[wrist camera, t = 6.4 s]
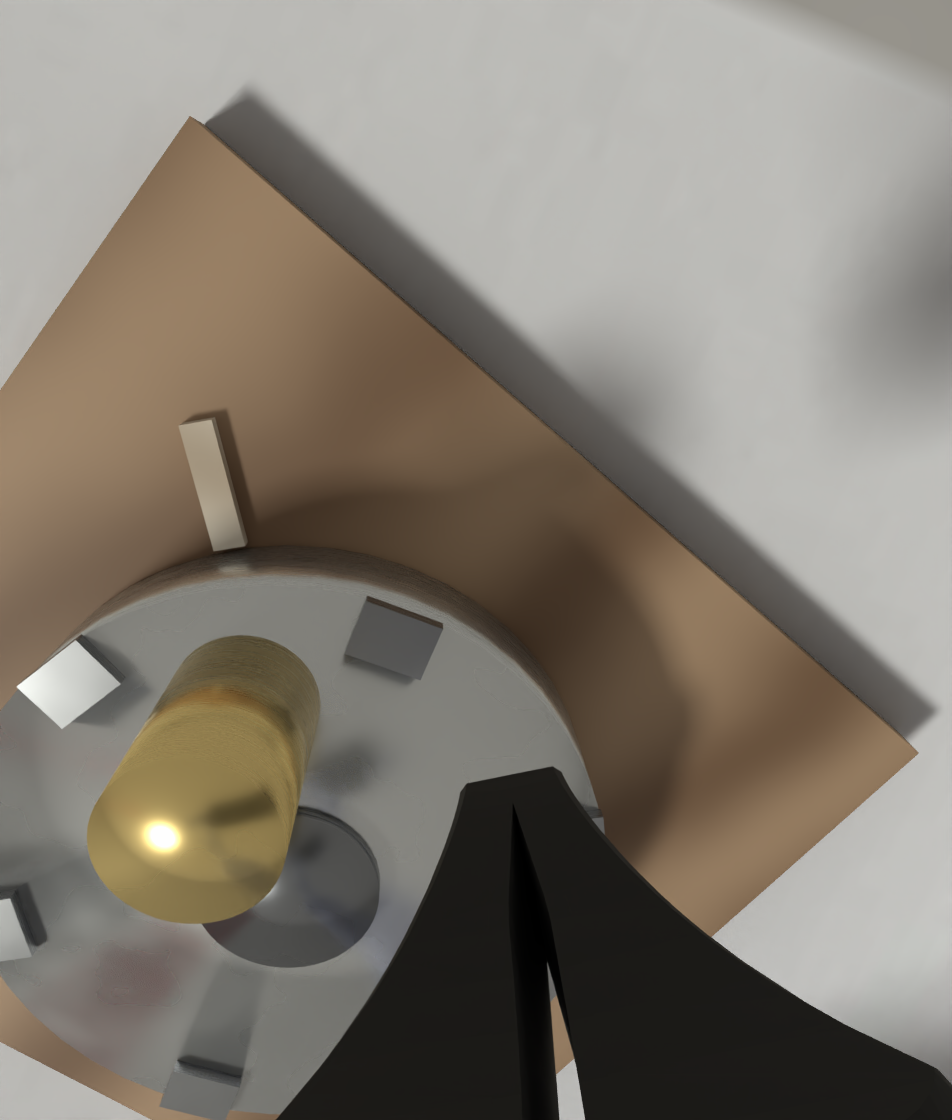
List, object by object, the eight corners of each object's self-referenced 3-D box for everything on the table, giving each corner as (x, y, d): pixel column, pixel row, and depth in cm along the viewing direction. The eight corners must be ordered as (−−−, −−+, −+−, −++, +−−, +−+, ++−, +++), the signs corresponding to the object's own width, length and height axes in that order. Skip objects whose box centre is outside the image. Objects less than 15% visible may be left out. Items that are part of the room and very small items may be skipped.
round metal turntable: (558, 506, 19) (628, 636, 12) (604, 991, 24) (672, 1273, 17) (-72, 590, 19) (-340, 768, 12) (99, 1061, 24) (-29, 1372, 17)
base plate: (898, 732, 23) (925, 759, 22) (377, 1201, 28) (374, 1245, 26) (203, 124, 17) (185, 114, 16) (-300, 844, 22) (-343, 879, 21)
